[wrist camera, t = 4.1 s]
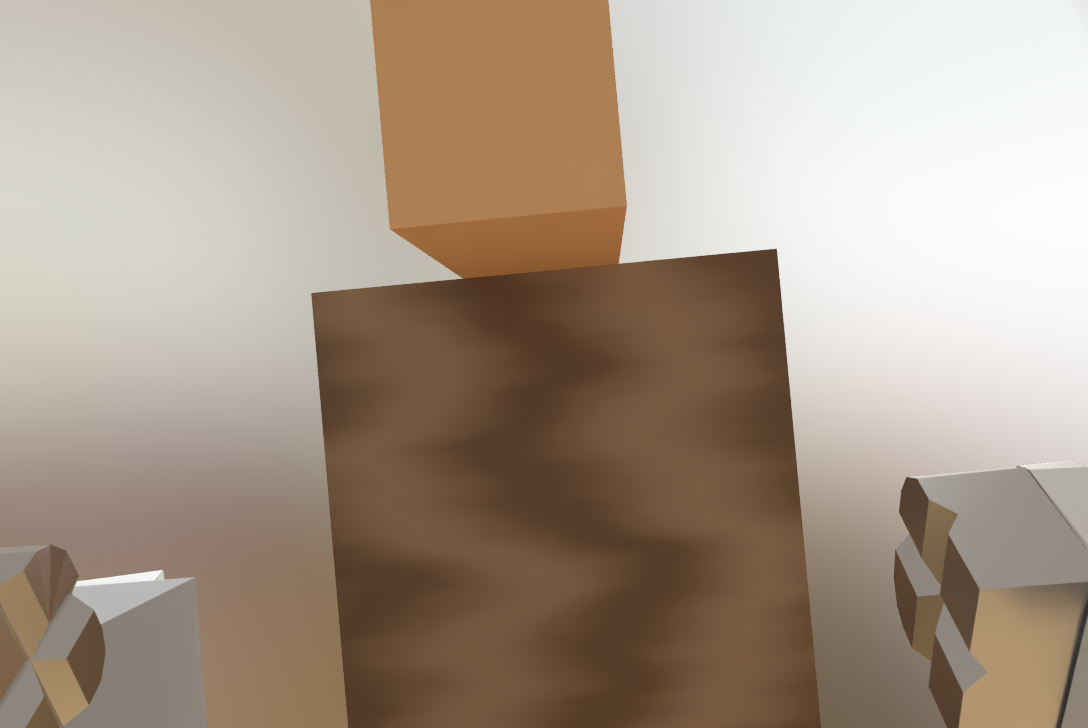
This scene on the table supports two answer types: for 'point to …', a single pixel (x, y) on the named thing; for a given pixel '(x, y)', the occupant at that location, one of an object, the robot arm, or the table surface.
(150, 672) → the slate pedestal
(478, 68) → the orange bar
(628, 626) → the walnut post
